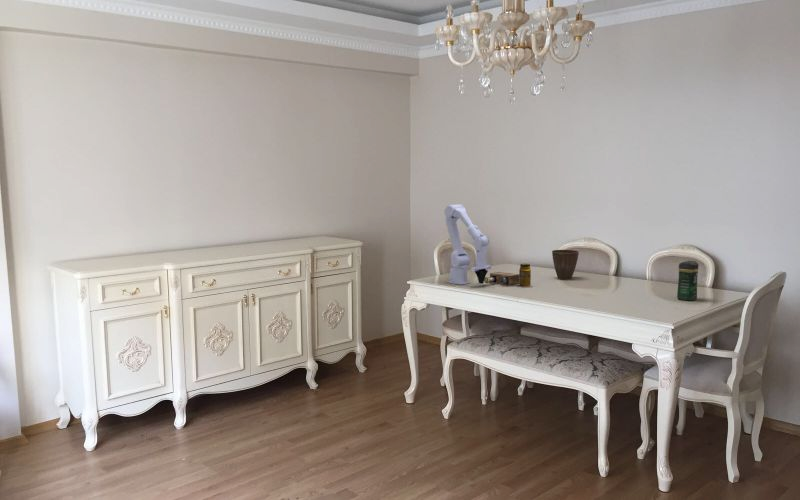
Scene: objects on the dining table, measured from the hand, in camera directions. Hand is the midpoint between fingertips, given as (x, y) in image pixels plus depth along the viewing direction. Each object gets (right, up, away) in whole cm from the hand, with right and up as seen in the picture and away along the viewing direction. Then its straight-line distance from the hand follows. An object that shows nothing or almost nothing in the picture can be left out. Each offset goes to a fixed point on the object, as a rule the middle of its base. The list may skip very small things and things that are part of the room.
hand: (481, 283), depth 361 cm
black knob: (+15, 0, +3) cm, 15 cm away
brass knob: (+6, 0, +6) cm, 9 cm away
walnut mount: (+14, -1, +8) cm, 16 cm away
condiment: (+23, -2, 0) cm, 23 cm away
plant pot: (+51, +1, +23) cm, 56 cm away
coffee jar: (+94, -6, -41) cm, 103 cm away
